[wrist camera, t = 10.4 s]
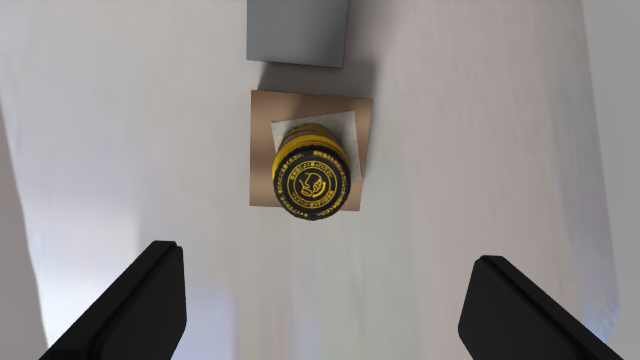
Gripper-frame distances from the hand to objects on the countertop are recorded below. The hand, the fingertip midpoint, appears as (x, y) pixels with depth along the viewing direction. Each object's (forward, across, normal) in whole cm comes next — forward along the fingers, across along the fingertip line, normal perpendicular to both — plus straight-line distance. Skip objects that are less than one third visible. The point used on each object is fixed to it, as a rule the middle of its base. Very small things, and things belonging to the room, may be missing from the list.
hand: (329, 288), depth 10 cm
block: (+27, 0, +1) cm, 27 cm away
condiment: (+23, -1, 0) cm, 23 cm away
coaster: (+27, +2, -13) cm, 30 cm away
